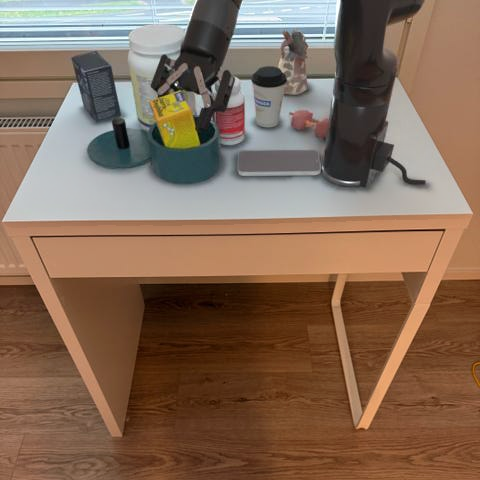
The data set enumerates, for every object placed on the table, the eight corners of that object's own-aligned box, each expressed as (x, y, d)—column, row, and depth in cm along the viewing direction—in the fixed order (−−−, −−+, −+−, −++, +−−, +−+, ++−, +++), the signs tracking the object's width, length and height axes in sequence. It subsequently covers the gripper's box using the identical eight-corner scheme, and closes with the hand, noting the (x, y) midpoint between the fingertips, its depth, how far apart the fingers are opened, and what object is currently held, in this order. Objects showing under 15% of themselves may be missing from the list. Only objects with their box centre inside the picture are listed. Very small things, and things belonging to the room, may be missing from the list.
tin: (233, 157, 93) (232, 124, 88) (196, 191, 86) (193, 158, 81) (178, 140, 97) (174, 108, 92) (138, 171, 90) (132, 138, 85)
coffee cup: (271, 110, 104) (273, 60, 97) (291, 124, 100) (295, 73, 93) (244, 119, 102) (244, 69, 94) (263, 133, 98) (264, 82, 90)
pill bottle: (250, 140, 97) (251, 83, 88) (224, 149, 95) (222, 92, 86) (233, 127, 100) (232, 71, 92) (207, 135, 98) (204, 79, 90)
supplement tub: (155, 105, 107) (142, 18, 94) (207, 114, 104) (201, 25, 91) (127, 132, 99) (110, 41, 86) (182, 143, 96) (173, 51, 83)
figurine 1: (308, 94, 109) (314, 35, 100) (277, 95, 109) (280, 36, 100) (304, 80, 114) (310, 23, 105) (274, 81, 114) (276, 23, 105)
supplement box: (166, 153, 91) (148, 100, 82) (196, 143, 92) (181, 88, 83) (174, 173, 88) (156, 120, 79) (205, 161, 88) (191, 107, 79)
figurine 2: (296, 120, 104) (279, 127, 99) (299, 103, 101) (281, 110, 97) (347, 136, 99) (332, 145, 94) (351, 119, 97) (336, 127, 92)
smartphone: (238, 150, 93) (317, 149, 92) (238, 154, 93) (317, 154, 93) (237, 172, 88) (321, 171, 87) (237, 176, 89) (321, 176, 88)
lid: (173, 144, 96) (170, 113, 91) (130, 178, 88) (124, 147, 84) (119, 127, 101) (113, 97, 96) (73, 158, 93) (64, 128, 88)
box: (83, 108, 106) (70, 56, 98) (108, 101, 108) (97, 50, 100) (96, 123, 102) (83, 70, 93) (122, 116, 103) (111, 64, 95)
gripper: (164, 10, 81) (133, 107, 83) (239, 26, 76) (203, 128, 79) (185, 34, 88) (156, 123, 90) (254, 50, 83) (222, 143, 86)
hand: (178, 125), depth 85 cm, fingers closed on supplement box, 8 cm apart
